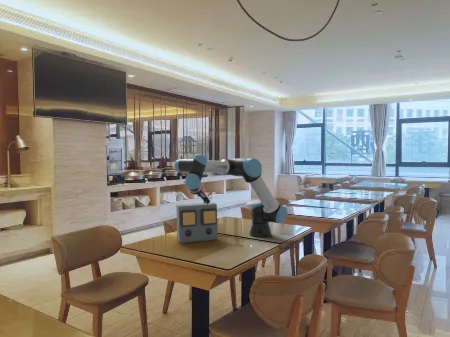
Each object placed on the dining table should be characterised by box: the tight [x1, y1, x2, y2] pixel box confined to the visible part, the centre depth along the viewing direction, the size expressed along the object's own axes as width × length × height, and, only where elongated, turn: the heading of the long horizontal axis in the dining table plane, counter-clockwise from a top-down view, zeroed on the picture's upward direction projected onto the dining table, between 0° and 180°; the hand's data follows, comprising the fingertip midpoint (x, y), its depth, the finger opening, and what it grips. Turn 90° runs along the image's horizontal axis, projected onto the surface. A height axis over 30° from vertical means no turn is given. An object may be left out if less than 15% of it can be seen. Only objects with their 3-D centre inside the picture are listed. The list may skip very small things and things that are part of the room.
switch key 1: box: [182, 212, 195, 225], centre depth 228 cm, size 3×8×8 cm, turn 108°
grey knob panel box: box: [175, 202, 218, 244], centre depth 235 cm, size 10×26×24 cm, turn 108°
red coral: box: [196, 183, 213, 200], centre depth 276 cm, size 15×26×35 cm, turn 166°
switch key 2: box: [203, 210, 216, 224], centre depth 232 cm, size 3×8×8 cm, turn 108°
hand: (198, 194), depth 217 cm, fingers open, 13 cm apart
